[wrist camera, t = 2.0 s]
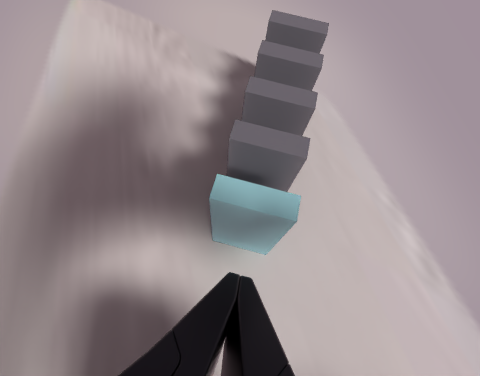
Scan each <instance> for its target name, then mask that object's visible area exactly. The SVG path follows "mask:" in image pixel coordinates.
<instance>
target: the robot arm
mask: <svg viewBox="0 0 480 376" xmlns="http://www.w3.org/2000/svg"><path fill="white" fill-rule="evenodd" d="M224 340H225V343H224ZM223 344H224V350H223V360H222V370H221V376H295V375H294V373H293V370H292V368H291V366H290V364H288V363H289V362H288V359H287V357H286V355H285V352H284V350H283V348H282V346H281V343H280V341H279V339H278V337H277V334H276V332H275V330H274V327H273V325H272V323H271V321H270V318H269V316H268V314H267V312H266V309H265V307H264V305H263V303H262V300H261V298H260V296H259V293H258V291H257V289H256V287H255V284H254V282H253V280H252V279H251V278H249V277H246V276H240V275H238V274H235V273H231V272H229V273H228V274H227V275H226V276H225V277H224V278H223V279H222V280H221V281H220V282H219V283H218V284H217V285H216V286H215V287H214V288H213V289H212V290H211V291H210V292H209V293H207V294H206V295H205V296H204V297H203V298H202V299H201V300H200V301H199V302H198V303H197V304H196V305H195V306H194V307H193V308H192V309H191V310H190V311H189V312H188V313H187V314H186V315H185V316H184V317H183V318H182V319H181V320H180V321H179V322H178V323H177V324H176V325H175V326H174V327H173V328H172V330H170V331H169V332H168V333H167V334H166V335H165V336H164V337H163V338H162V339H161V340H160V341H159V342H158V343H157V344H155V345H154V346H153V347H152V348H151V349H150V350H149V351H148V352H147V353H145V354H144V355H143V356H142V357H141V358H139V359H138V360H137V361H136V362H134V363H133V364H132V365H131V366H129V367H128V368H127V369H126V370H124V371H123V372H122V373H121V374H119V375H118V376H213V373H214V370H215V367H216V364H217V361H218V359H219V356H220V353H221V350H222V347H223Z"/></svg>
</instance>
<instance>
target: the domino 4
mask: <svg viewBox="0 0 480 376" xmlns="http://www.w3.org/2000/svg"><path fill="white" fill-rule="evenodd" d="M309 142H310V138H307V137H303V136H299V135H295V134H291V133H287V132H283V131H279V130H275V129H272V128H268V127H264V126H260V125H256V124H252V123H248V122H244V121H240V120H236V119H235V122H234V125H233V128H232V131H231V134H230V137H229V147H228V163H227V176H228V177H231V178H235V179H239V180H243V181H247V182H250V183H254V184H258V185H262V186H266V187H269V188H273V189H277V190H281V191H285V192H287V191H288V189H289V188H290V186H291V184H292V183H293V181H294V179H295V178H296V176H297V174H298V173H299V171H300V169H301V168H302V166H303V164H304V163H305V161H306V159H307V155H308V149H309Z"/></svg>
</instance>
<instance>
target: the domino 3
mask: <svg viewBox="0 0 480 376" xmlns="http://www.w3.org/2000/svg"><path fill="white" fill-rule="evenodd" d="M317 94H318V93H317V92H313V91H309V90H305V89H301V88H297V87H293V86H289V85H285V84H281V83H277V82H273V81H269V80H265V79H261V78H257V77H253V76H250V78H249V81H248V84H247V87H246V90H245V96H244V104H243V112H242V120H241V121H244V122H248V123H252V124H256V125H260V126H264V127H268V128H272V129H275V130H279V131H283V132H287V133H291V134H295V135H299V136H302V135H303V133H304V131H305V129H306V127H307V124H308V122H309V120H310V118H311V116H312V114H313V112H314V110H315V107H316V100H317Z"/></svg>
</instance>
